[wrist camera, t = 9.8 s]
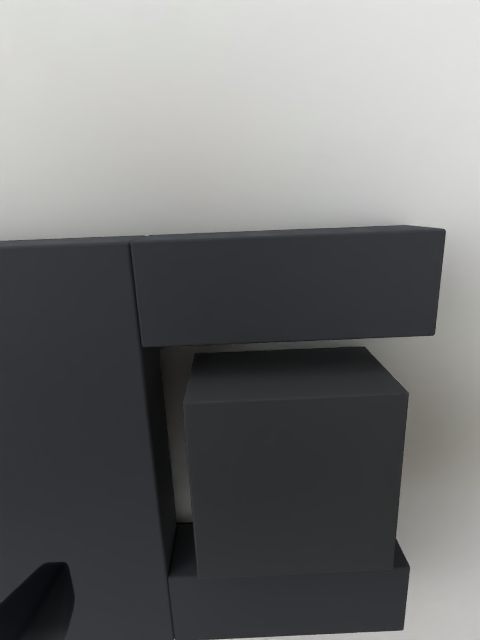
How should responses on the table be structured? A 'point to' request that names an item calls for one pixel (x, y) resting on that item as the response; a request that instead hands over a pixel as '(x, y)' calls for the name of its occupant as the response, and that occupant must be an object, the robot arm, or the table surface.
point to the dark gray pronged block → (150, 420)
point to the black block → (293, 461)
